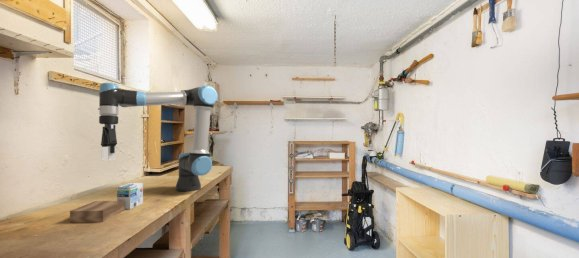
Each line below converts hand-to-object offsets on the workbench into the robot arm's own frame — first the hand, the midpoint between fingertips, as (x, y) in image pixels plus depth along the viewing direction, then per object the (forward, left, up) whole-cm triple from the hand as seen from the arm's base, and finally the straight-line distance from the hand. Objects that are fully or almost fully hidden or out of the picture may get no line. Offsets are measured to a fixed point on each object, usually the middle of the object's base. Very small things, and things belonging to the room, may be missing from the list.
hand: (108, 160), depth 123 cm
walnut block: (-2, +9, -24) cm, 26 cm away
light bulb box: (-7, -5, -24) cm, 25 cm away
